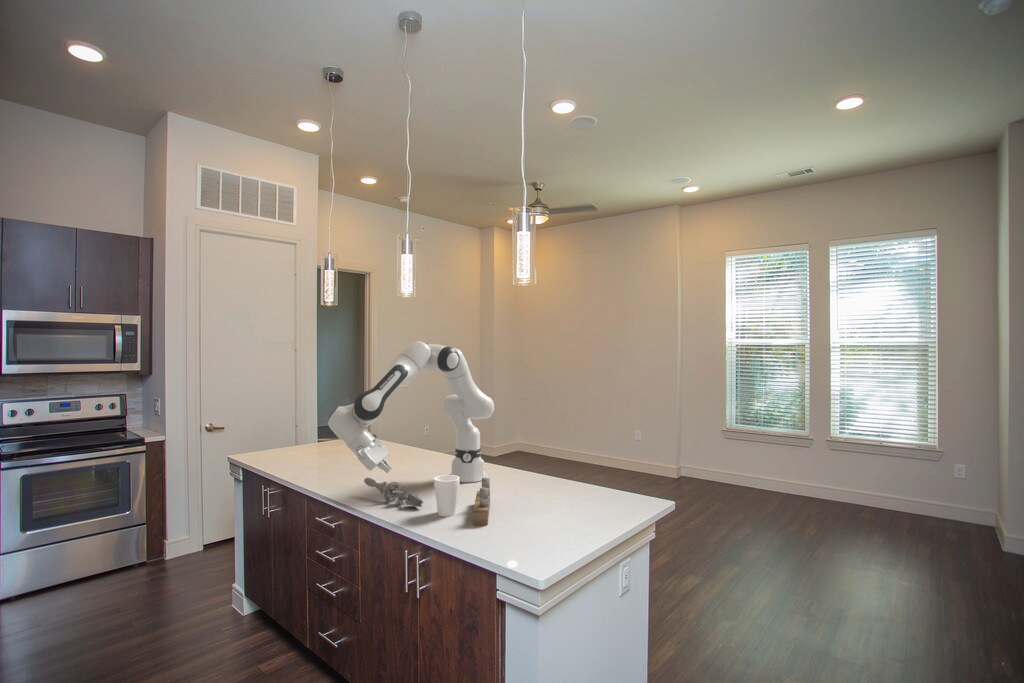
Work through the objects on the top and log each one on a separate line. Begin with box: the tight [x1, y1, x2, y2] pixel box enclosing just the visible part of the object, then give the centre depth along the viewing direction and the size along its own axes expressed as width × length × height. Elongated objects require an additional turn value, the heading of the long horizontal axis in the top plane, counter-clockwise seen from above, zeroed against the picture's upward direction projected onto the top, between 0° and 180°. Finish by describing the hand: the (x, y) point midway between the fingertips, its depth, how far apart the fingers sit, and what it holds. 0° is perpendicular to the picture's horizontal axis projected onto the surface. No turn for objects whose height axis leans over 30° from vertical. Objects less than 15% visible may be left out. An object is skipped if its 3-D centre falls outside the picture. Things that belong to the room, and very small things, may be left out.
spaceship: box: [363, 477, 425, 508], centre depth 201 cm, size 8×35×8 cm
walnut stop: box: [472, 477, 491, 526], centre depth 187 cm, size 24×5×11 cm, turn 1°
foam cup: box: [433, 474, 461, 518], centre depth 187 cm, size 10×9×13 cm
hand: (389, 470), depth 187 cm, fingers closed
